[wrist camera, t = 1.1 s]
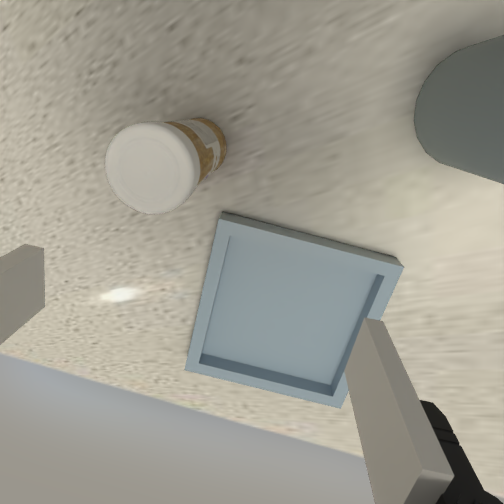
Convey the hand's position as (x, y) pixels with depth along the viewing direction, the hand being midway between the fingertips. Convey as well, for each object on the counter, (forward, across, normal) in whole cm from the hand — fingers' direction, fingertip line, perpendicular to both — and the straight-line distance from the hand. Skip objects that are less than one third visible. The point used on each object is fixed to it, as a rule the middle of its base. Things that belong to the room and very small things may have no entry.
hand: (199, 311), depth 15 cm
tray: (+18, +6, -10) cm, 21 cm away
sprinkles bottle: (+19, -4, +4) cm, 19 cm away
